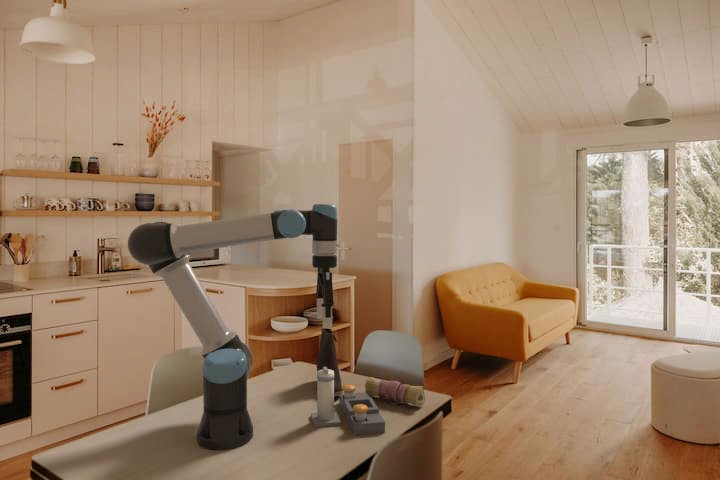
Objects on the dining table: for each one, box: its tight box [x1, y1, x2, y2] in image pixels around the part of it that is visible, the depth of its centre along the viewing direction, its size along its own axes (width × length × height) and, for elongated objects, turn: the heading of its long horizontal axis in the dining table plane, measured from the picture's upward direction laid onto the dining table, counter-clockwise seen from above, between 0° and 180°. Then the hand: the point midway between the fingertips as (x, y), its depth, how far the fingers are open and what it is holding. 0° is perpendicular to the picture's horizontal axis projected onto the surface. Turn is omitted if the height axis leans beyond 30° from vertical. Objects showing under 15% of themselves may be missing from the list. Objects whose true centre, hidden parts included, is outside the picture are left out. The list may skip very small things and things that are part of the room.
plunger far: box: [342, 384, 357, 399], centre depth 161 cm, size 4×4×5 cm
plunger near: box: [353, 404, 368, 422], centre depth 145 cm, size 4×4×5 cm
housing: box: [339, 392, 386, 436], centre depth 154 cm, size 9×24×4 cm, turn 12°
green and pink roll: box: [364, 376, 426, 407], centre depth 167 cm, size 8×8×20 cm
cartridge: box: [316, 367, 335, 421], centre depth 150 cm, size 5×5×15 cm
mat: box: [310, 410, 342, 428], centre depth 150 cm, size 8×8×1 cm
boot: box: [316, 328, 344, 397], centre depth 177 cm, size 9×24×20 cm, turn 14°
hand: (324, 323), depth 154 cm, fingers open, 13 cm apart
